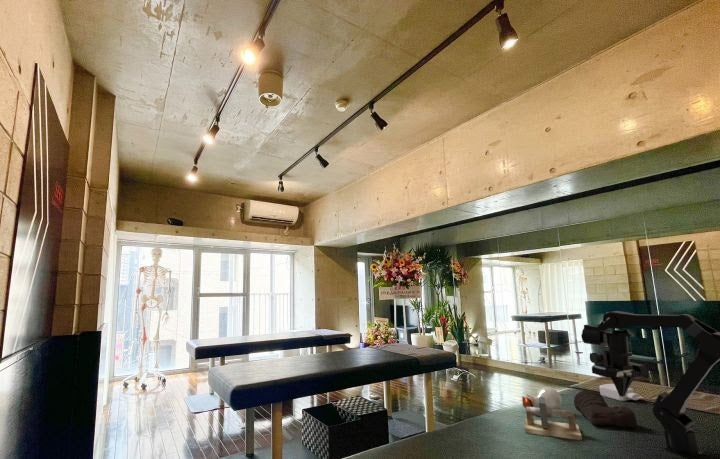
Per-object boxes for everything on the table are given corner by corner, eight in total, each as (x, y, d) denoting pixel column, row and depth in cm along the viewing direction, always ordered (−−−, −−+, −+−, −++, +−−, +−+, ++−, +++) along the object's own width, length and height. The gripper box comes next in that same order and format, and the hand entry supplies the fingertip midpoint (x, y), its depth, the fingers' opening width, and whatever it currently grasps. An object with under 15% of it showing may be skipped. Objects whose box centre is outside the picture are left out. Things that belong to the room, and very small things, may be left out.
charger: (635, 405, 144) (600, 396, 158) (649, 402, 147) (614, 393, 161) (633, 393, 145) (598, 385, 159) (647, 391, 148) (612, 383, 162)
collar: (547, 420, 125) (544, 397, 126) (548, 428, 118) (545, 403, 119) (541, 419, 126) (538, 396, 127) (541, 427, 119) (538, 402, 120)
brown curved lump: (636, 408, 119) (613, 388, 134) (589, 409, 122) (571, 390, 137) (640, 436, 119) (617, 413, 134) (592, 437, 122) (575, 414, 136)
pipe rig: (578, 429, 121) (575, 407, 123) (581, 440, 112) (578, 416, 114) (525, 422, 129) (523, 401, 130) (525, 432, 120) (522, 410, 121)
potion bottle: (565, 414, 139) (532, 422, 137) (549, 394, 148) (517, 401, 146) (570, 399, 135) (536, 407, 133) (553, 379, 144) (521, 386, 142)
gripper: (614, 343, 128) (618, 386, 126) (576, 344, 123) (579, 390, 121) (646, 349, 118) (651, 396, 116) (606, 351, 112) (610, 401, 110)
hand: (621, 396), depth 116 cm, fingers closed
